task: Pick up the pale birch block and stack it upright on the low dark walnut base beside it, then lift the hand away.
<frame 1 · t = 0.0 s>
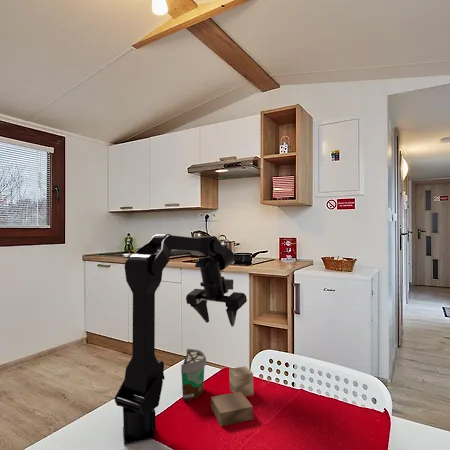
hand: (220, 323, 107), 15 cm above the table, tool pointing down, fingers open, 9 cm apart
walnut base: (231, 413, 84), on the table
food container: (196, 392, 96), on the table
birch block: (241, 393, 95), on the table
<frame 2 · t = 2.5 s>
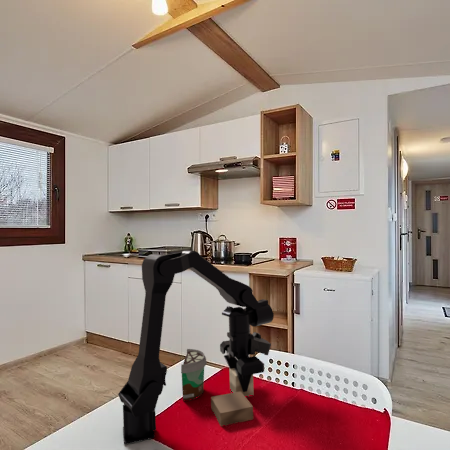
hand: (241, 387, 95), 2 cm above the table, tool pointing down, fingers closed on birch block, 5 cm apart
birch block: (241, 392, 95), on the table, touching gripper
everything else where it was.
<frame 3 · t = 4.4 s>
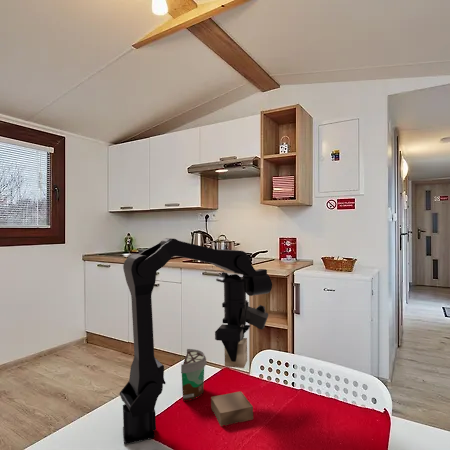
hand: (236, 357, 91), 11 cm above the table, tool pointing down, fingers closed on birch block, 5 cm apart
birch block: (236, 363, 91), point 10 cm above the table, touching gripper
everything else where it was.
when the fingers open (6 cm above the table, at t = 6.5 s): birch block drops 1 cm, resting on walnut base.
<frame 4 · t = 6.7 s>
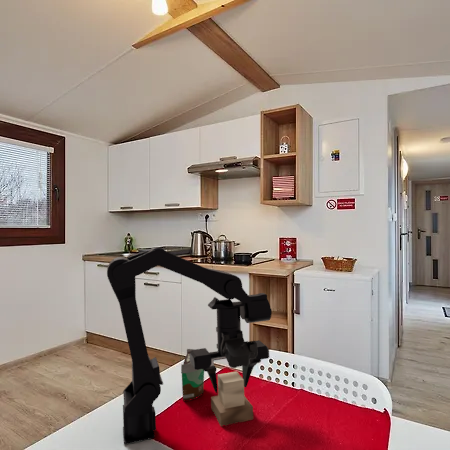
hand: (230, 389, 84), 6 cm above the table, tool pointing down, fingers open, 7 cm apart
birch block: (231, 401, 84), point 3 cm above the table, touching walnut base
everything else where it was.
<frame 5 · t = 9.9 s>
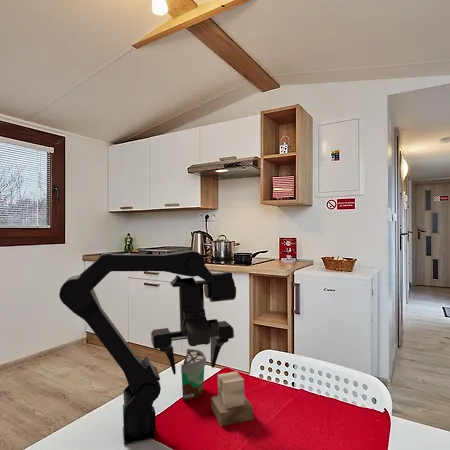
hand: (193, 370, 82), 12 cm above the table, tool pointing down, fingers open, 9 cm apart
nothing on the table moved.
at the end: birch block 0.1 cm off-centre on the walnut base, point 3.0 cm above the walnut base's base; birch block tilted 0°; the gripper is holding nothing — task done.
